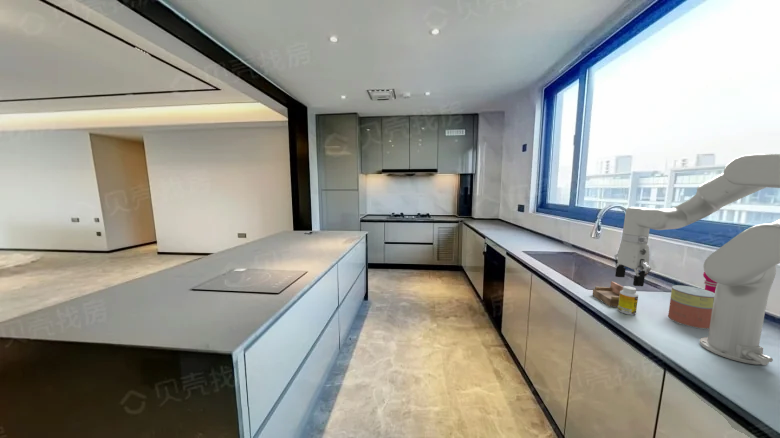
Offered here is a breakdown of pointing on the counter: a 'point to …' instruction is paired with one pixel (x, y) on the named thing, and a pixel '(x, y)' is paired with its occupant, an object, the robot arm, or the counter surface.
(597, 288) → the display stand
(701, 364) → the counter surface
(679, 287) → the canned food
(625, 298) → the supplement bottle
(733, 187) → the robot arm
